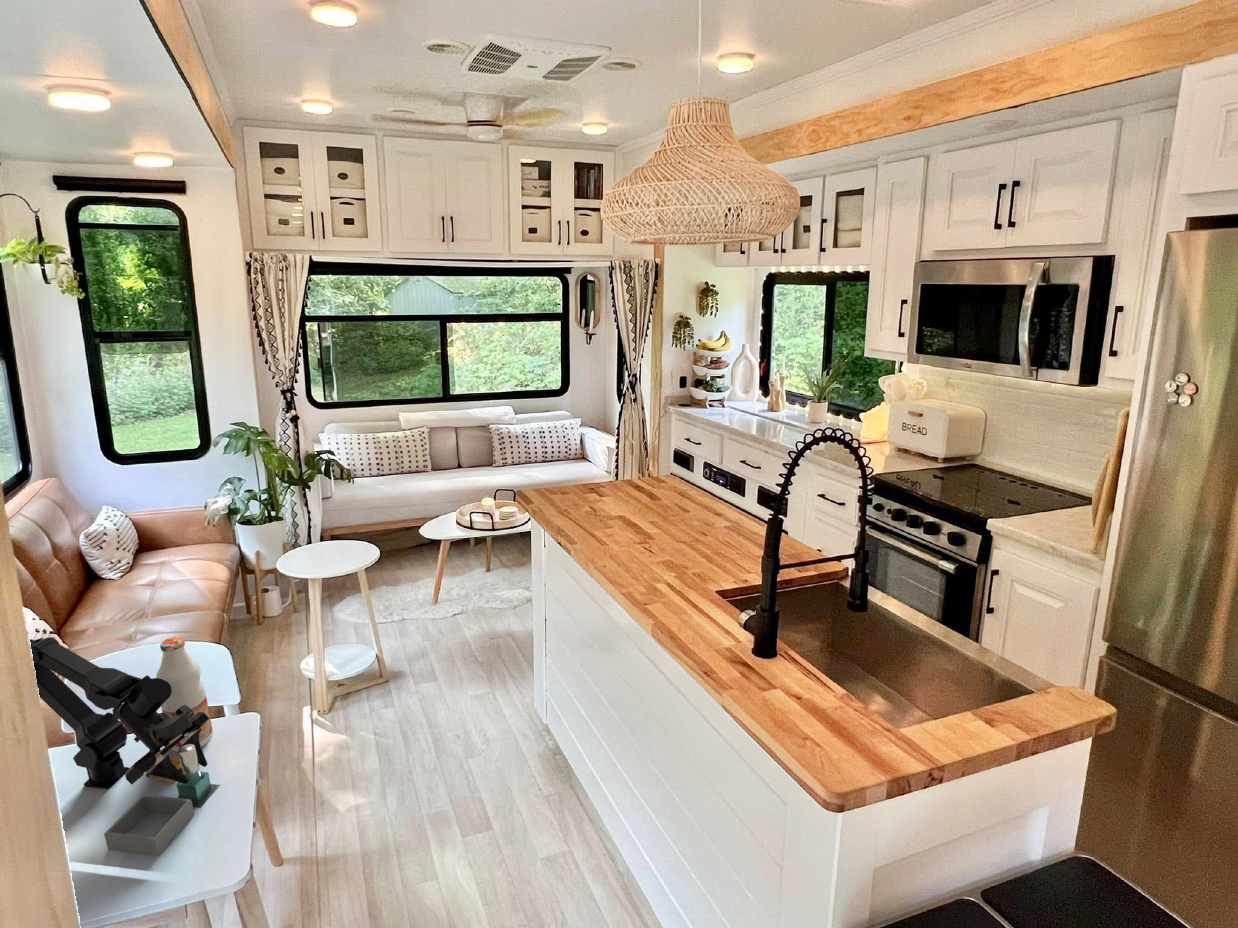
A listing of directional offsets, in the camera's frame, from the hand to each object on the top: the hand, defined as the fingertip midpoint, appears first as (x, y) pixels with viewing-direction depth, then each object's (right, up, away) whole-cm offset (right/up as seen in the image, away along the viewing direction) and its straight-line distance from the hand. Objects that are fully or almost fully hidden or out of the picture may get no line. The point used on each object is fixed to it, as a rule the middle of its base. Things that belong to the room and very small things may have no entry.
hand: (196, 773), depth 167 cm
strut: (-1, -5, +2) cm, 6 cm away
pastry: (-11, -4, +10) cm, 16 cm away
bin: (-5, -10, -8) cm, 13 cm away
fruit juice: (-12, -1, +20) cm, 24 cm away
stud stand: (-1, -6, +2) cm, 7 cm away
